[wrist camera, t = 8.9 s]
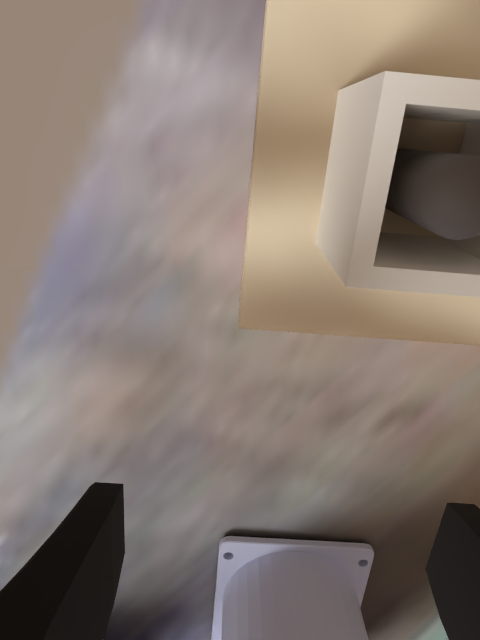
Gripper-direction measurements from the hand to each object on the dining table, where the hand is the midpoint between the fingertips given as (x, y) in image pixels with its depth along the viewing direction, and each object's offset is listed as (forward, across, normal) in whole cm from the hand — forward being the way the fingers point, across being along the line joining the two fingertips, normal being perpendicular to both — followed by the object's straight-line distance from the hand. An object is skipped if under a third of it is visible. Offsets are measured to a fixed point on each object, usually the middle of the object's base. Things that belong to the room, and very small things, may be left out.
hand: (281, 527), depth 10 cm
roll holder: (+10, -4, -7) cm, 13 cm away
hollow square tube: (+9, -4, -7) cm, 12 cm away
